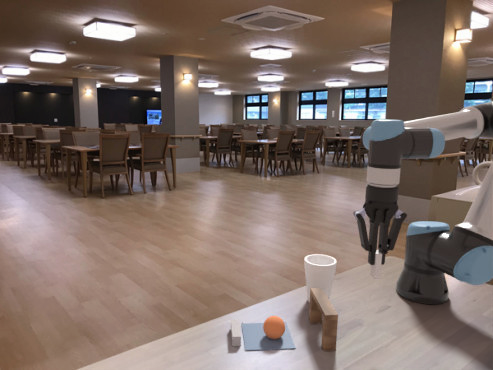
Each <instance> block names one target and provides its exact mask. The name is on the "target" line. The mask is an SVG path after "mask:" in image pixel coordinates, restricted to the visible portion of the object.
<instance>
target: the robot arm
mask: <svg viewBox="0 0 493 370" xmlns="http://www.w3.org/2000/svg"><path fill="white" fill-rule="evenodd" d="M459 138H465V139H467V140H468V139H469V140H472V139H476V138H477V139H478V138H484V139H493V100H492V101H488V102H483V103H479V104H475V105H469V106H465V107H463V108H461V109H460V110H459V111H456V112H452V113H447V114H440V115H435V116H428V117H424V118H419V119H418V118H417V119H413V120H406V121H403V119H375V120H374V119H373V120H372V122H371V125H370V126H368V127H367V128H366V129H365V130H364V132H363V135H362V144H363V146H364V148H365V149H366V150H367V151H368V156H367V157H368V158H367V169H366V170H367V171H366V182H367V184H366V185H365V195H364V196H365V198H364V199H365V201H364V204H363V205H362V208H361V209H360V210H358V211H354V212H353V216H354V217H355V219H356V223H357V229H358V235H359V239H360V246H361V248H362V249H364V250H365V252H368V253H367V255H368V257H367V262H368V264H369V265H370V273H369V275H370V276H371V277H372V278H373V279H381V274H382V273H381V271H382V265H383V266H384V265H385V263H386V255H388V253H389V251H393V250H394V249H395V246H396V244H397V240H398V237H399V234H400V231H401V228H402V225H403V223H404V221H406V218H408V214H407V213H405V212H404V211H402V210H400V209H399V204H398V200H399V189H400V187H399V186H398V185H399V184H400V179H401V169H402V168H401V167H402V160H410V159H411V160H415V159H416V160H421V159H424V160H428V159H435V158H437V157H439V156H440V155H441V154H442V153H443V152H444V150H445V147H446V146H445V145H446V141H451V140H455V139H459ZM366 217H368V219H369V220H368V222H369V231H368V230H367V225H366V220H365V219H366ZM391 219H392V222H391ZM390 224H391V225H390ZM450 227H451V226H450V225H449V223H446V222H441V221H433V220H432V221H430V220H429V221H427V220H425V221H423V220H422V221H413V222H411V223H410V224H409V225H408V227H407V231H406V235H405V236H406V237H405V246H404V247H405V249H404V250H405V251H404V260H403V261H404V263H403V268H402V271H401V272H400V275H399V276H398V279H397V280H396V285H395V291H396V292H397V294H398V295H400V297H402V298H404V299H406V300H410V301H412V302H416V303H419V304H425V305H441V304H444V303H446V302H447V301H449V293H450V292H449V288H448V283H447V279H446V276H445V275H448V276H449V277H452V278H454V279H456V280H458V281H459V282H462V283H466V284H468V285H469V286H470V285H471V286H482V285H484V284H486V283H488V282H490V281H491V280H493V161H492V162H491V163H490V166H489V168H488V169H487V172H486V174H485V176H484V178H483V180H482V182H481V184H480V186H479V189H478V190H477V193H476V195H475V197H474V198H473V201H472V203H471V206H470V207H469V210H468V211H467V214H466V216H465V218H464V220H463V221H462V222H461V223H458V224H455V225H454V227H453V229H452V231H450V230H451V228H450ZM368 232H369V233H368Z"/></svg>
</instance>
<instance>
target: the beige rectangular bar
mask: <svg viewBox="0 0 493 370" xmlns="http://www.w3.org/2000/svg"><path fill="white" fill-rule="evenodd" d="M230 335H231V344H232V347H241V346H242V344H241V343H242V336H241V327H240V321H239V319H230Z"/></svg>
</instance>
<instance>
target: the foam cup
mask: <svg viewBox="0 0 493 370" xmlns="http://www.w3.org/2000/svg"><path fill="white" fill-rule="evenodd" d="M303 268H304V276H305V285H306V286H305V289H306V297H307V298H306V299H307V302H308V303H309V304H310V288H322V290H323V291H324V293H325V295H326V296H327V298H328V299H329V300H330V298H331V294H332V289H333V283H334V278H335V273H336V271H337V259H336V258H335V257H333V256H330V255H327V254H321V253H320V254H319V253H314V254H309V255H306V256H304V263H303Z"/></svg>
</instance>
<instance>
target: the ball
mask: <svg viewBox="0 0 493 370" xmlns="http://www.w3.org/2000/svg"><path fill="white" fill-rule="evenodd" d="M284 322H285V321H284V320H283V319H282V318H281V317H280V316H278V315H272V316H271V315H270V316H268V317H267V318H266V319H265V320H264V322H263V323H264V325H263V330H264V333H265V334H266V336H268V337H269V338H271V339H278V338H280V337H281V336H282V335H283V334H284V332H285V323H284Z"/></svg>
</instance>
